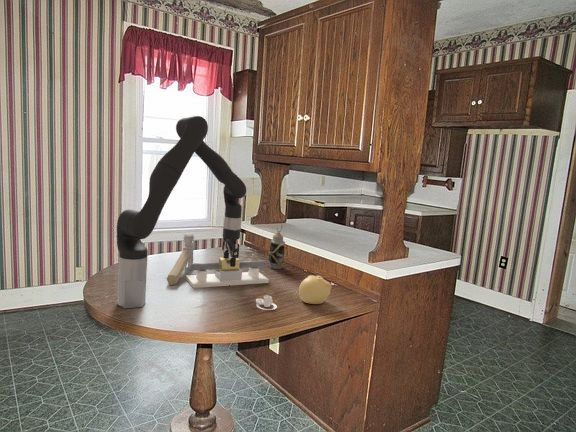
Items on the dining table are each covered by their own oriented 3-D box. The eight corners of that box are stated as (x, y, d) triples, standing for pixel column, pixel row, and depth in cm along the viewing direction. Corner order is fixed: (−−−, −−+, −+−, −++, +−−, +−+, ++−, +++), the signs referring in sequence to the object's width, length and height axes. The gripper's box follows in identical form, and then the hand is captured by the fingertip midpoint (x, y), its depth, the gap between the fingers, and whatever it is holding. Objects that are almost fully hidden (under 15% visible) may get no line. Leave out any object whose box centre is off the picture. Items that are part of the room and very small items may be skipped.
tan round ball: (333, 303, 165) (336, 278, 163) (312, 309, 157) (315, 282, 155) (313, 294, 173) (316, 270, 172) (292, 299, 165) (295, 273, 164)
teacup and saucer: (252, 303, 158) (253, 292, 158) (271, 301, 162) (272, 292, 161) (260, 311, 151) (261, 301, 150) (280, 310, 154) (281, 300, 153)
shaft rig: (268, 282, 183) (270, 264, 182) (193, 288, 167) (194, 267, 166) (257, 274, 194) (259, 257, 192) (185, 278, 177) (186, 259, 176)
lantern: (285, 269, 206) (290, 220, 203) (270, 269, 203) (275, 220, 199) (279, 264, 214) (283, 217, 211) (264, 264, 211) (269, 217, 207)
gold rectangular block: (238, 272, 180) (239, 259, 179) (221, 273, 176) (222, 260, 175) (235, 270, 183) (236, 257, 182) (218, 271, 179) (219, 257, 179)
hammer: (177, 264, 164) (194, 233, 192) (166, 263, 164) (184, 232, 192) (178, 297, 170) (194, 262, 198) (166, 296, 170) (184, 261, 198)
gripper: (218, 223, 181) (215, 259, 183) (229, 230, 169) (226, 268, 171) (234, 224, 184) (231, 258, 187) (246, 230, 172) (243, 268, 175)
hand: (229, 263), depth 179 cm, fingers open, 8 cm apart
